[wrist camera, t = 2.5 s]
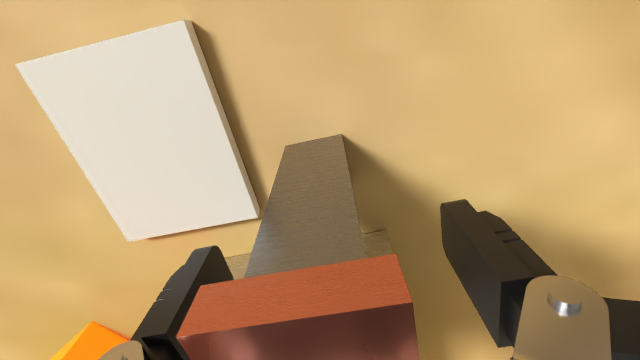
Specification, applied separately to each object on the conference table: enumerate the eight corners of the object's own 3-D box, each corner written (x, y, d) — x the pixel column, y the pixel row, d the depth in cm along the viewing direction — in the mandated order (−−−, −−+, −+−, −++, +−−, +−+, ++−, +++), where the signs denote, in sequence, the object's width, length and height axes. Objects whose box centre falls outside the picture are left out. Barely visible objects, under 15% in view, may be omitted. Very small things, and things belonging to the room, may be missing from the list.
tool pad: (30, 62, 14) (14, 64, 13) (190, 20, 13) (183, 19, 12) (135, 233, 18) (128, 241, 17) (260, 210, 17) (257, 217, 17)
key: (271, 137, 15) (175, 337, 5) (351, 120, 15) (412, 302, 5) (292, 205, 17) (250, 448, 7) (363, 191, 17) (427, 430, 7)
